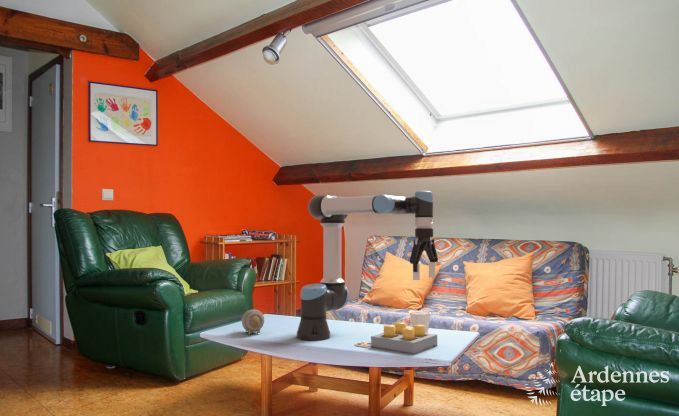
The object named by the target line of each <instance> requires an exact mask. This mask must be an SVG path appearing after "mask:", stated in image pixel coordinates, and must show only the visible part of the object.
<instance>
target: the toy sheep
mask: <svg viewBox="0 0 679 416" xmlns="http://www.w3.org/2000/svg"><path fill="white" fill-rule="evenodd" d="M264 324H265V316H264V315H263V313H262V312H261V311H260V310H258V309H254V308H253V309H248V310H247V311H245V312H244V313H243V315H242V317H241V325H242V327H243V329H244V330H245V332H246V331H248V332H247V333H248V335H249V334H251V335H252V333H256V334H257V333H260V334H261V329H262V328H263V327H264Z"/></svg>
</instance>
